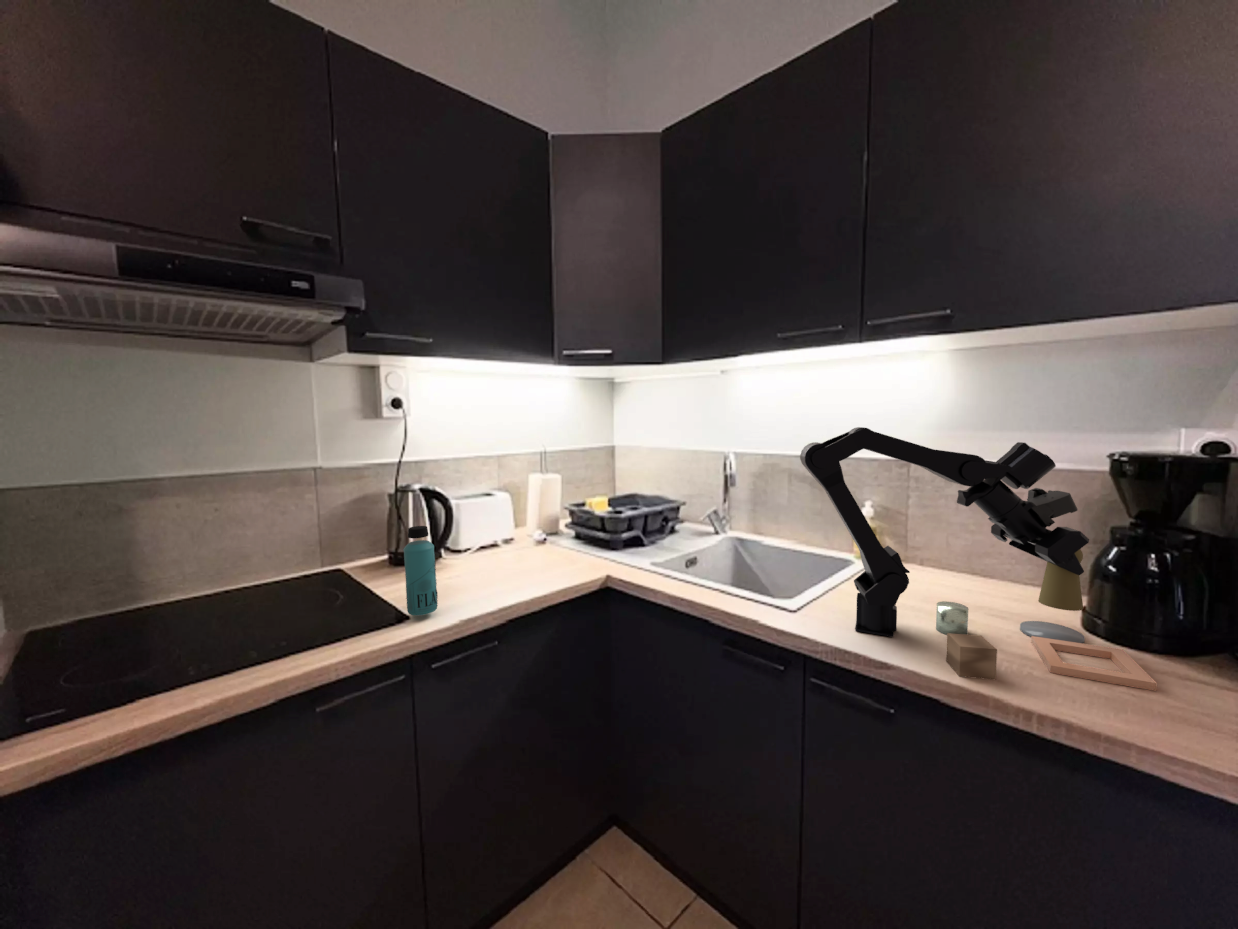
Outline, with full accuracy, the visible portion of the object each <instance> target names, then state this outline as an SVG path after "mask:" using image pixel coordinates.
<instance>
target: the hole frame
mask: <svg viewBox="0 0 1238 929" xmlns="http://www.w3.org/2000/svg"><path fill="white" fill-rule="evenodd" d="M1030 643H1031V645H1032V646H1033V647H1034V649H1035V651H1036V653H1037V654H1038V656H1039V658H1040V659H1041V661H1042V662H1043V663H1044V665H1045V667H1046V669H1047V670H1048V672H1049V673H1051V674H1055V675H1063V676H1069V677H1075V678H1079V679H1086V680H1091V681H1098V682H1103V683H1109V684H1113V685H1120V686H1127V687H1132V688H1138V689H1143V690H1150V691H1155V692H1157V688H1158V687H1157V686H1158V685H1157V684H1158V683H1157V682H1156V681H1155V680H1154V679H1153V678H1152V677H1151V676H1150V674H1148V672H1146V670H1144V669H1143V668H1142V667H1141V665H1139V664H1138V663H1137V662H1136V661H1135V660H1134V659H1133V658H1132V656H1130V655H1129V654H1128V653H1127V652H1126V651H1125V650H1124V649H1122V648H1116V647H1108V646H1103V645H1101V646H1100V645H1095V644H1089V643H1088V644H1087V643H1076V642H1069V641H1062V640H1055V639H1049V638H1042V637H1035V636H1031V637H1030ZM1056 651H1058V652H1064V653H1072V654H1076V655H1077V654H1078V655H1084V656H1091V657H1096V658H1103V659H1110V660H1112V662H1113V663H1114V664H1115V665H1116V666H1117V667H1118V668H1119V669H1120V671H1118V670H1116V671H1115V670H1112V669H1111V670H1110V669H1104V668H1099V667H1098V668H1097V667H1092V666H1087V665H1081V664H1075V663H1068V662H1063V660H1062V658H1061V657H1060V655H1058V652H1056Z"/></svg>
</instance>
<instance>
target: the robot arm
mask: <svg viewBox="0 0 1238 929" xmlns="http://www.w3.org/2000/svg"><path fill="white" fill-rule="evenodd" d="M862 450H867V451H869V452H873V453H876V454H880V455H882V456H886V457H890V458H892V459H895V460H898V461H902V462H905V463H908V464H912V465H914V466H917V467H921V468H923V469H924V470H926V471H928V472H929V473H931V474H933V475H935V476H937V477H939V478H941V479H943V480H945V481H947V482H950V483H953V484H957V485H960V486H964V487H967V489H963V490H961V489H958V490H957V495H958V496H957V498H956V503H957V504H959V505H962V506H963V507H966V508H967V507H970V506H971V505H972V504H973V503H974V504H975V505H976V506H977V507H978V508H979V509H980V510H981V511H982V512H984V513H985V514H986V515H987V517H988V518H987V520H989V521H990V523H992V525H991V527H990V533H991V534H992V535H993V536H994V537H995V538H996V539H997V540H999V541H1001V542H1004V543H1006V542H1008V539H1009V540H1010V541H1009V542H1008V545H1009V546H1011V547H1013V548H1016V549H1018V550H1019V551H1022V552H1025V553H1027V554H1029V555H1031V556H1034V557H1036V558H1038V559H1040V560H1043V561H1046V562H1050V563H1052V564H1054V565H1056V566H1059V567H1061V568H1063V569H1065V570H1068V571H1070V572H1072V573H1074V574H1077V575H1079V576H1080V575H1082V574H1083V573H1085V570H1084V567H1083V566H1082V565H1081V563H1080V562H1079V561H1078V559H1077V557H1076V555H1075V552H1077V551H1078V550H1079V549H1081V550H1082V548H1083V547H1085V546H1086V545H1087V544H1089V543H1090V539H1089V538H1088V537H1087V536H1086V535H1085V534H1084V533H1083V532H1082V531H1081V530H1078V529H1074V528H1072V527H1071V528H1070V527H1067V526H1056V528H1053V529H1052V530H1051V529H1048V528H1047V527H1049V528H1050V527H1052V526H1053V525H1054V524H1055V523H1056V522H1055V520H1054V519H1055V518H1058V517H1061V516H1064V515H1067V514H1069V513H1070V514H1072V513H1075V512H1077V511H1078V510H1079V509H1078V508H1077V505H1076V503H1075V500H1074V499H1073V497H1072V495H1071V493H1070V492H1066V491H1061V490H1050V489H1049V490H1048V491H1045V489H1043V488H1040V487H1034V488H1032V489H1030V488H1031V487H1033V485H1035V484H1036V483H1037V482H1039V481H1040V480H1041V479H1042V478H1044V477H1046V475H1047V474H1048V473H1050V472H1051V471H1052V470H1053V469H1055V468H1056V467H1057V466H1056V463H1055V461H1054V460H1053V459H1052V458H1051V456H1049V455H1047V454H1045V453H1042V452H1041V451H1040V450H1038V449H1036V448H1034V447H1032V446H1030V445H1029V444H1028V443H1026V442H1020V441H1017V442H1016V443H1015V444H1014V445H1013V446H1011V448H1009V451H1007V452H1006V453H1004V455H1002V456H1001V457H1000V458H999V459H997V460H996V461H992V460H985V459H984V458H983V457H982V456H979V455H976V454H970V453H964V452H956V451H948V450H943V449H942V450H941V449H934V448H929V447H926V446H924V445H921V444H917V443H914V442H910V441H907V440H905V439H900V438H897V437H894V436H891V435H887V434H883V433H881V432H876V431H873V430H871V429H870V428H868V427H860V426H858V427H854V428H852V429H850V430H849V431H847V432H845V433H842V434H840V435H838V436H835V437H832V438H830V439H828V440H825V441H823V442H811V443H808V444H807V445H804V447H803V448H802V449H801V451H800V455H799V460H800V462H801V464H802V465H803V467H804V468H805V469H806V471H807V472H809V473H810V475H811V476H812V478H813V479H815V480H816V482H817V483H818V485H820V487H822V489H823V490H824V491H825V493H826V495H827V497H828V498H829V500H830V502H831V503H832V505H833V507H834V508H835V510H836V513H837V514H838V516H839V518H840V519H841V521H842V522H843V524H844V526H845V528H846V529H847V531H848V533H849V534H850V537H851V538H852V541H853V542H854V543H855V544H856V547H857V548H858V551H859V554H860V558H861V563H862V566H863V569H864V571H863V572H862V573H861V574H860V575H858V576H857V577H856V578H855V579H853V583H854V586H855V589H856V590H857V591H858V592H857V593H856V619H855V627H854V630H855V631H856V632H859V633H867V634H872V635H876V636H877V635H878V636H883V637H891V638H894V633H895V632H896V631H897V624H898V623H897V622H898V621H897V620H898V618H897V616H898V608H897V606H896V604H897V602H898V600H899V599H900V598H899V597H900V596H901V595H902V594H903V593H905V591H906V590H907V589H908V585H909V584H910V579H909V576H908V574H910V570H909V569H908V568H907V567H905V566H904V565H905V564H904V563H903V562H902V559H901V556H900V554H899V552H897V551H896V550H895V549H893V548H892V547H891V546H890V545H886V546H885V547H883V546H882V544H881V542H880V541H879V539H878V537H877V536H876V534H875V532H874V530H873V529H872V527H871V525H870V524H869V522H868V520H867V518H866V516H865V514H864V513H863V511H862V510H861V508H860V506H859V504H858V503H857V501H856V500H855V498H854V496H853V495H852V493H851V491H850V489H849V487H848V486H847V484H846V481H845V478H844V474H843V469H842V466H841V463H840V462H841V461H843V460H846V459H847V458H850V457H851V456H853V455H855V454H856V453H858V452H860V451H862ZM1011 488H1012V489H1014V490H1018V489H1019V488H1021V489H1025V490H1028V492H1027V498H1026V500H1023V499H1022V498H1021V497H1020V496H1018V495H1017V494H1016V493H1015V492H1014V491H1013V490H1012V489H1011Z"/></svg>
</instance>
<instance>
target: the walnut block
mask: <svg viewBox="0 0 1238 929" xmlns="http://www.w3.org/2000/svg"><path fill="white" fill-rule="evenodd" d="M945 654H946V657H945V658H946V660H945V661H946V663H947V664H948V665H949V666H950V668H951V669H952V670H953V671H954V672H955V673H956V674H957V676H958V675H959V676H958V677H960V676H966V677H965V678H971V677H976V678H975V679H982V678H984V679H986V680H994V679H996V680H997V678H996V677H997V662H998V661H997V657H998V655H997V654H998V649H997V648H996V647H995V646H994V645H993V644H992V643H991V642H990V641H988V640H987V639H986V638H985V637H984V636H983V635H980V634H979V635H977V634H967V635H966V634H952V633H947V635H946V653H945Z"/></svg>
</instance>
